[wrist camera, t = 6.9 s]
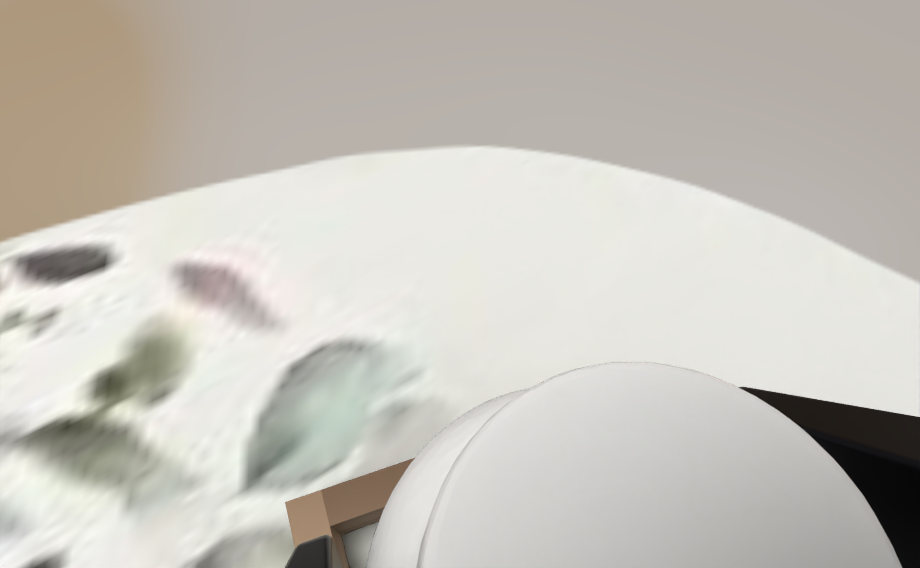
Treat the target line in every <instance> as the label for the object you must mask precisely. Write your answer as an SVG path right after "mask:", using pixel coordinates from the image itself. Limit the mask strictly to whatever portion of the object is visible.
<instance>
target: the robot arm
mask: <svg viewBox="0 0 920 568" xmlns="http://www.w3.org/2000/svg"><path fill="white" fill-rule="evenodd" d="M738 388H740V389H742V390H744V391H746V392H748V393H750V394H752V395H754V396H756V397H758V398H759V399H761V400H762V401H764V402H766V403H767V404H769V405H770V406H772V407H773V408H775V409H777V410H778V411H780V412H781V413H782V414H784V415H785V416H786V417H788V418H789V419H790V420H792V421H793V422H794V423H796V424H797V425H798V426H799V427H801V428H802V429H803V430H804V431H805V432H806V433H808V434H809V435H810V436H811V437H812V438H813V439H814V440H815V441H816V442H817V443H818V444H819V445H820V446H821V447H822V448H823V449H824V450H825V451H826V452H827V453H828V454H829V455H830V456H831V457H832V458H833V459H834V460H835V461H836V462H837V463H838V464H839V466H840V467H841V468H842V469H843V470H844V471H845V473H846V474H847V475H848V476H849V478H850V479H851V480H852V481H853V483H854V484H855V485H856V487H857V488H858V489H859V490H860V492H861V493H862V494H863V496H864V497H865V499H866V501H867V502H868V504H869V505H870V507H871V509H872V510H873V512H874V513H875V515H876V517H877V519H878V521H879V522H880V524H881V526H882V528H883V530H884V532H885V533H886V535H887V537H888V539H889V541H890V542H891V544H892V546H893V548H894V551H895V553H896V555H897V557H898V560H899V562H900V564H901V566H902V568H920V417H916V416H910V415H904V414H898V413H893V412H887V411H881V410H875V409H869V408H864V407H858V406H852V405H846V404H840V403H835V402H829V401H823V400H817V399H811V398H806V397H800V396H794V395H788V394H782V393H777V392H771V391H765V390H759V389H753V388H747V387H738ZM285 568H343V567H342V564H341V561H340V558H339V555H338V552H337V549H336V546H335V544H334V541H333V539H332V537H331V536H330V535H327V534H326V535H323V536H320V537H317V538H314V539H311V540H308V541H306V542H303V543H300V544H299V545H298V546H297V547H296V548H295V549H294V551H293V553H292V555H291V557H290V559H289V561H288V563H287V564H286V566H285Z"/></svg>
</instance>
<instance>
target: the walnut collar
mask: <svg viewBox="0 0 920 568" xmlns="http://www.w3.org/2000/svg"><path fill="white" fill-rule="evenodd" d="M414 459H415V458H413V459H410V460H408V461H405V462H402V463H399V464H396V465H393V466H390V467H387V468H384V469H381V470H378V471H375V472H372V473H369V474H367V475H364V476H361V477H358V478H355V479H352V480H349V481H346V482H343V483H340V484H337V485H334V486H331V487H328V488H326V489H323V490H320V491H317V492H314V493H311V494H308V495H305V496H302V497H299V498H296V499H293V500H290V501H287V502H285V504H286V508H287V513H288V518H289V522H290V527H291V532H292V536H293V541H294V546H295V548H296V547H297V546H298V545H299V544H300V543H303V542H306V541H308V540H311V539H314V538H317V537H320V536H323V535H326V534H327V535H330V536H331V537H332V539H333V541H334V544H335V546H336V549H337V552H338V555H339V558H340V561H341V564H342V567H343V568H349V566H348V562H347V558H346V554H345V549H344V545H343V541H342V537H341V535H342V534H345V533H348V532H350V531H353V530H356V529H359V528H362V527H364V526H367V525H370V524H373V523H376V522H378V521H379V520H380V518H381V515H382V512H383V510H384V508H385V506H386V504H387V502H388V500H389V498H390V495H391V493H392V491H393V490H394V488H395V487H396V485H397V483H398V482H399V480H400V479H401V477H402V476H403V474H404V472H405V471H406V469H407V468H408V466H409V465H410V464H411V462H412V461H413V460H414Z"/></svg>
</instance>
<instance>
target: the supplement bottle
mask: <svg viewBox="0 0 920 568" xmlns="http://www.w3.org/2000/svg"><path fill="white" fill-rule="evenodd" d="M366 568H902V566H901V564H900V562H899V560H898V557H897V555H896V553H895V551H894V548H893V546H892V544H891V542H890V541H889V539H888V537H887V535H886V533H885V532H884V530H883V528H882V526H881V524H880V522H879V521H878V519H877V517H876V515H875V513H874V512H873V510H872V509H871V507H870V505H869V504H868V502H867V501H866V499H865V497H864V496H863V494H862V493H861V492H860V490H859V489H858V488H857V487H856V485H855V484H854V483H853V481H852V480H851V479H850V478H849V476H848V475H847V474H846V473H845V471H844V470H843V469H842V468H841V467H840V466H839V464H838V463H837V462H836V461H835V460H834V459H833V458H832V457H831V456H830V455H829V454H828V453H827V452H826V451H825V450H824V449H823V448H822V447H821V446H820V445H819V444H818V443H817V442H816V441H815V440H814V439H813V438H812V437H811V436H810V435H809V434H808V433H806V432H805V431H804V430H803V429H802V428H801V427H799V426H798V425H797V424H796V423H794V422H793V421H792V420H790V419H789V418H788V417H786V416H785V415H784V414H782V413H781V412H780V411H778V410H777V409H775V408H773V407H772V406H770V405H769V404H767V403H766V402H764V401H762V400H761V399H759V398H758V397H756V396H754V395H752V394H750V393H748V392H746V391H744V390H742V389H740V388H738V387H737V386H735V385H732V384H730V383H727V382H725V381H723V380H720V379H718V378H715V377H713V376H710V375H708V374H704V373H701V372H698V371H694V370H691V369H686V368H680V367H675V366H670V365H664V364H659V363H648V362H612V363H605V364H599V365H592V366H587V367H583V368H579V369H575V370H571V371H568V372H565V373H562V374H559V375H556V376H554V377H551V378H549V379H547V380H545V381H543V382H541V383H539V384H537V385H535V386H534V387H532V388H529V389H525V390H520V391H515V392H512V393H509V394H506V395H503V396H500V397H497V398H495V399H492V400H489V401H487V402H485V403H483V404H481V405H479V406H477V407H475V408H474V409H472V410H470V411H469V412H467V413H465V414H464V415H462V416H461V417H459V418H458V419H456V420H455V421H454V422H452V423H451V424H450V425H448V426H447V427H446V428H445V429H443V430H442V431H441V432H439V433H438V434H437V435H436V436H435V437H434V438H433V439H432V440H431V441H430V442H429V443H428V444H427V445H426V446H425V447H424V448H423V450H422V451H421V452H420V453H419V454H418V455H417V456H416V458H415V459H414V460H413V461H412V462H411V464H410V465H409V466H408V468H407V469H406V471H405V472H404V474H403V476H402V477H401V479H400V480H399V482H398V483H397V485H396V487H395V488H394V490H393V491H392V493H391V495H390V498H389V500H388V502H387V504H386V506H385V508H384V510H383V512H382V515H381V518H380V520H379V523H378V526H377V528H376V531H375V534H374V536H373V540H372V544H371V547H370V552H369V556H368V560H367V565H366Z"/></svg>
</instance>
